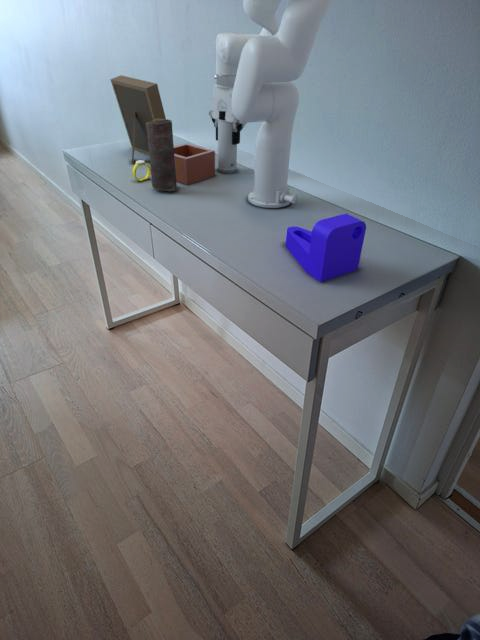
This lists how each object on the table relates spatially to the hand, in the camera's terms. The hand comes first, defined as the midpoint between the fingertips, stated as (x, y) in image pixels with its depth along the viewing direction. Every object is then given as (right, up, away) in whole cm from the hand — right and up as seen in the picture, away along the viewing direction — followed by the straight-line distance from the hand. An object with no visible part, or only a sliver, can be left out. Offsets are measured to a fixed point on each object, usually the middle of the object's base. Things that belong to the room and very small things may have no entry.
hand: (227, 141), depth 149 cm
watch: (-27, -14, -4) cm, 31 cm away
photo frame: (-32, +1, +16) cm, 36 cm away
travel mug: (0, -8, +6) cm, 10 cm away
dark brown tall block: (-19, -19, -11) cm, 29 cm away
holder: (-13, -11, 0) cm, 17 cm away
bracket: (+21, -45, -44) cm, 66 cm away
